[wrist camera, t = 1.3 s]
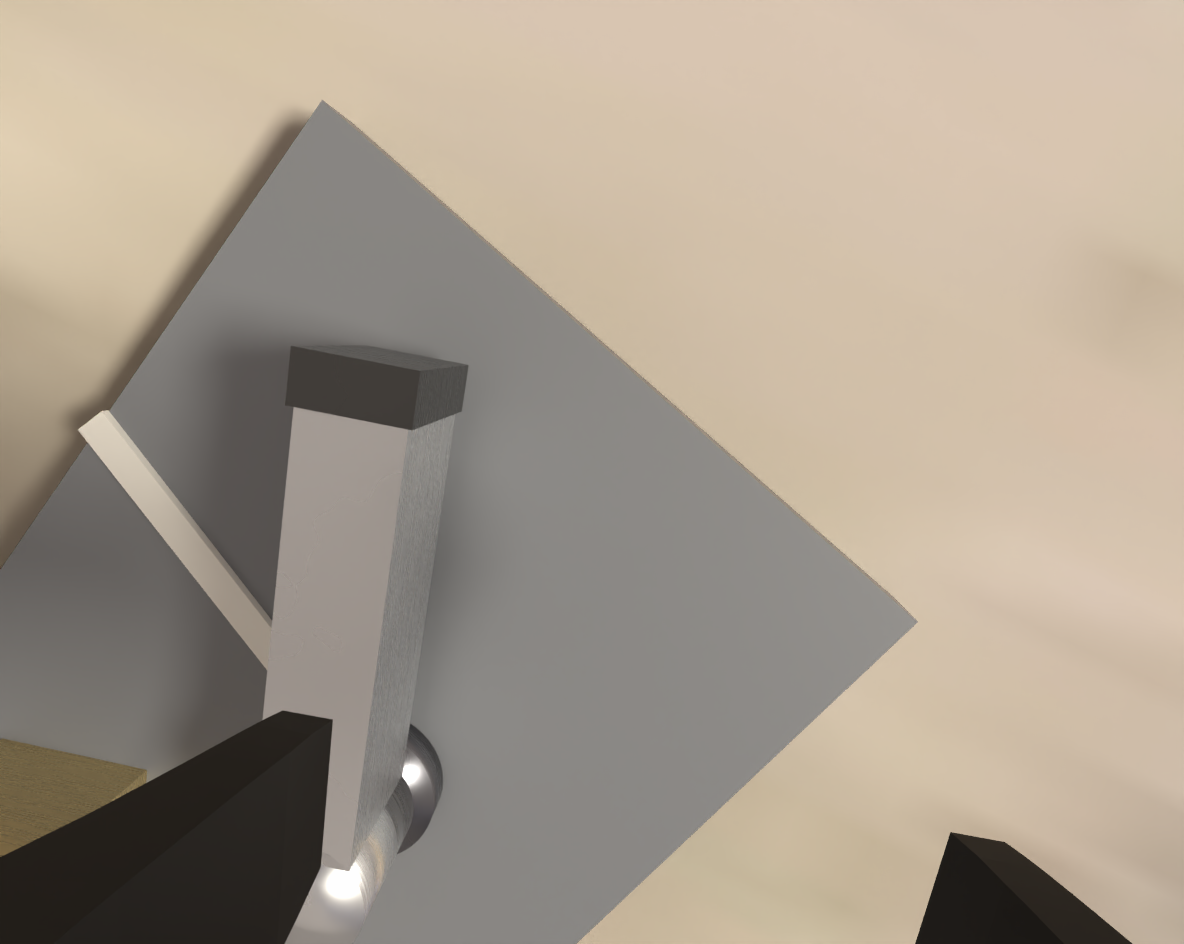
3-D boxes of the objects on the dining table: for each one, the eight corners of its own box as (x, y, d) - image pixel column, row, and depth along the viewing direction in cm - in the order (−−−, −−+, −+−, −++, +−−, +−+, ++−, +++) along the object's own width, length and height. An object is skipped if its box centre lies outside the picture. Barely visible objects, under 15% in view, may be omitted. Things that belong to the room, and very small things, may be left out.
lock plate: (894, 597, 17) (921, 625, 15) (378, 1092, 21) (356, 1156, 20) (343, 115, 16) (309, 88, 14) (-91, 739, 20) (-157, 775, 18)
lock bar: (406, 861, 17) (352, 982, 14) (296, 837, 17) (217, 951, 14) (482, 367, 14) (438, 374, 11) (353, 342, 14) (273, 342, 11)
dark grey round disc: (471, 772, 17) (463, 792, 16) (387, 861, 18) (375, 885, 17) (360, 682, 17) (346, 698, 16) (279, 776, 18) (262, 797, 17)
